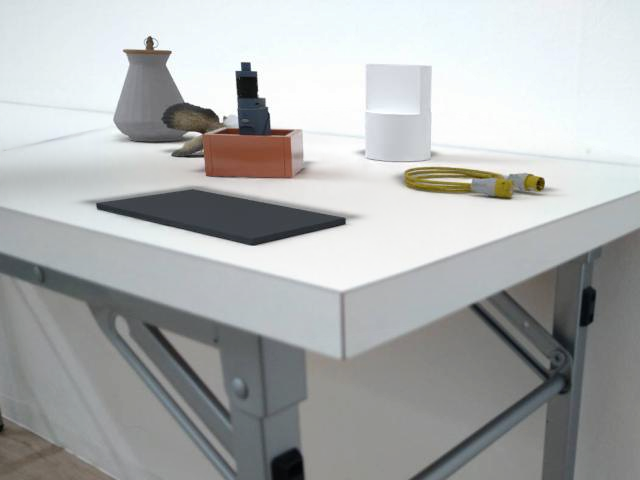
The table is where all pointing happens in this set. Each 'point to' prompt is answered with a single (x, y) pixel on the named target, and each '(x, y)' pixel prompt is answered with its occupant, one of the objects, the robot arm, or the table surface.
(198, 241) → the table surface
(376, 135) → the base with upright slab
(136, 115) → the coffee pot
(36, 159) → the table surface
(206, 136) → the open box
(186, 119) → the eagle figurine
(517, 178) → the extension cord
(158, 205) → the mat
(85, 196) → the table surface
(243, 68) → the vaping device
